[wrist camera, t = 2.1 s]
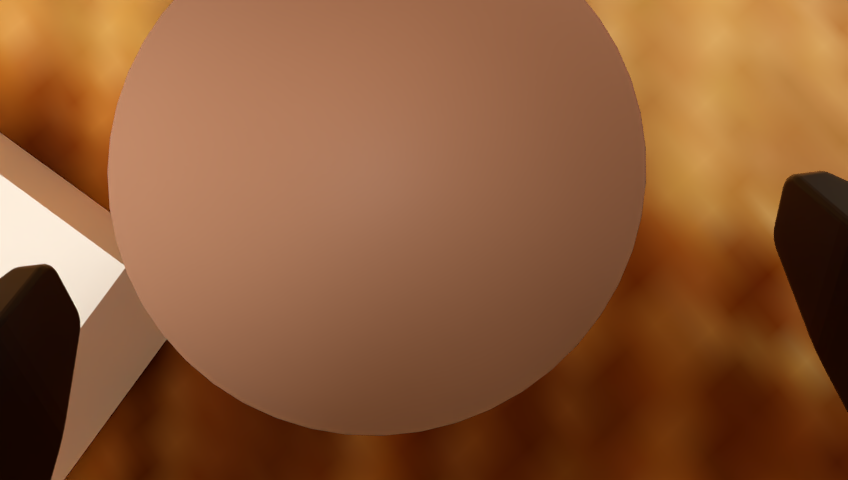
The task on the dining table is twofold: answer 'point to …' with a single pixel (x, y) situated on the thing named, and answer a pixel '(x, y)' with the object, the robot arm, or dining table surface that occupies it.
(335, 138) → the terracotta peg
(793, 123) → the dining table surface
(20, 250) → the white flat square block
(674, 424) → the dining table surface
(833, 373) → the robot arm
